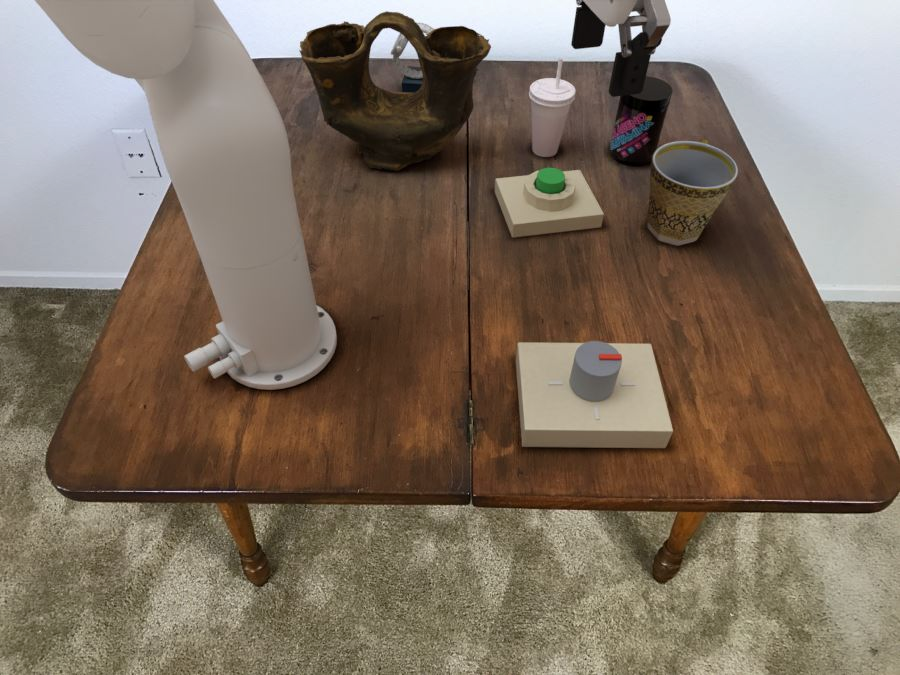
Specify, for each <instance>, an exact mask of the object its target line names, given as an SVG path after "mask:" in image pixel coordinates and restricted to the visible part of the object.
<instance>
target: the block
mask: <svg viewBox="0 0 900 675" xmlns="http://www.w3.org/2000/svg"><path fill="white" fill-rule="evenodd" d="M539 171H540V170H536V171H534V172H532V173H530V174H526V175H517V176H516V175H515V176H507V177H497V178H495V180H494V195H495V196H496V199H497V202H498V204H499V207H500V209H501V212H502V215H503V217H504V220H505V222H506V225H507V228H508V231H509V233H510V236H511V238H521V237H528V236H529V237H531V236H537V235H545V234H547V235H548V234H555V233H564V232H571V231H572V232H573V231H580V230H589V229H597V228H598V229H599V228H602V225H603V221H604V216H605V212H604V211H603V209H602V207H601V206H600V204H599V202H598V201H597V198H596V196H595V194H594V193H593V190H592V189H591V187H590V186H589V184H588V182H587V180H586V178H585V176H584V175H583V172H582V170H581V169H575V170H573V169H572V170H564V171H562V172H563V173H564V174H565V182H564V188H563V190H562V192H560V193H558V194H546V193H542V192H540V191H539V190H537V188H536V180H537V173H538V172H539Z"/></svg>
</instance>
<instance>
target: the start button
mask: <svg viewBox="0 0 900 675" xmlns="http://www.w3.org/2000/svg"><path fill="white" fill-rule="evenodd" d="M538 171H539V172H538V173H537V180H536V188H537V190H539V191H540V192H542V193H546V194H558V193H560V192H562V190H563V188H564V182H565V174H564V173H563V171H562V170H561V169H558V168H555V167H544V168H541V169H540V170H538Z"/></svg>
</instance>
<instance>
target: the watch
mask: <svg viewBox="0 0 900 675" xmlns="http://www.w3.org/2000/svg"><path fill="white" fill-rule="evenodd" d="M416 23H417V24H418V25H419V26H420V29H421V30H422V32H423V33H424V34H425V35H426V34H429V33H430V32H431V31H432V30H434V29H435V28H434V27H432V26H430V25H429V24H427V23H424V22H416ZM408 44H409V41H408V40H407V39H406V38H405V36H404V35H402V34H401V33H398V36H397V38H396V40H395V42H394V44H393V46H392V48H391V52H390V55H392V62H393V64H394V66H395V68H396V69H397V71H399V72H400V73H401V74H402V75H403V77H402V81H401V92H409V93H415V92H417V91H418V90H419V89H420V88H421V86H422V82H423V74H422V70H421V66H413V65H412V66H411V65H406V64H404V63H403V61H402V59H400V57H401V55H402V54H403V52H404V50H405V49H406V47H407V45H408Z"/></svg>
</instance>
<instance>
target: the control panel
mask: <svg viewBox="0 0 900 675" xmlns="http://www.w3.org/2000/svg"><path fill="white" fill-rule="evenodd" d="M584 343H585V342H531V341H530V342H528V341H527V342H523V341H522V342H520V341H519V342H517V345H516V346H517V347H516V353H515V371H516V372H515V373H516V383H517V384H516V385H517V398H518V399H517V400H518V409H519V424H520V437H521V438H520V439H521V447H522V448H599V449H600V448H601V449H602V448H604V449H605V448H607V449H610V448H611V449H666V448H667V446H668V444H669V442H670V440H671V438H672V436H673V433H674V429H673V425H672V421H671V417H670V413H669V409H668V404H667V401H666V396H665V394H664V390H663V386H662V381H661V377H660V373H659V370H658V366H657V362H656V358H655V354H654V350H653V346H652V343H623V342H622V343H621V342H620V343H619V342H618V343H615V342H606V343H607V344H609V345H611V346H613V347H614V348H615V349H616V350H617V351H618V352H619V354H621V355H622V364H621V368H620V371H619V374H618V377H617V381H616V384H615V387H614V390H613V393H612V394H611V395H610V396H609V397H608V398H606V399H604V400H602V401H588V400H585V399H582V398H580V397H579V396H577V395H576V394H575V393H574V392H573V390H572V389H571V387H570V382H569V380H570V375H571V370H572V366H573V362H574V357H575V353H576V350H577V349H578V348H579V347H580V346H581V345H582V344H584Z"/></svg>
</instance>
